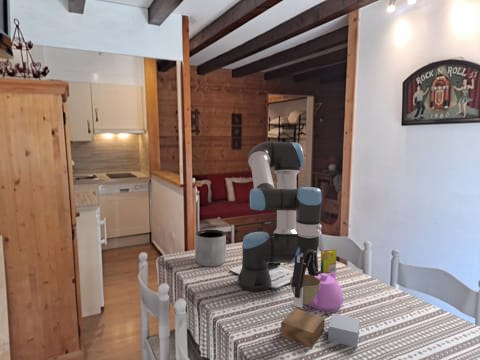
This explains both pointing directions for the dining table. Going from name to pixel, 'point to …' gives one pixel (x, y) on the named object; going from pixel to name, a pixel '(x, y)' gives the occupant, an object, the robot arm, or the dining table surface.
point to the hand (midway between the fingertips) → (304, 299)
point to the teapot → (328, 293)
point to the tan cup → (309, 288)
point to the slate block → (344, 330)
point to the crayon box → (328, 261)
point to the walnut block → (302, 327)
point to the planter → (210, 248)
